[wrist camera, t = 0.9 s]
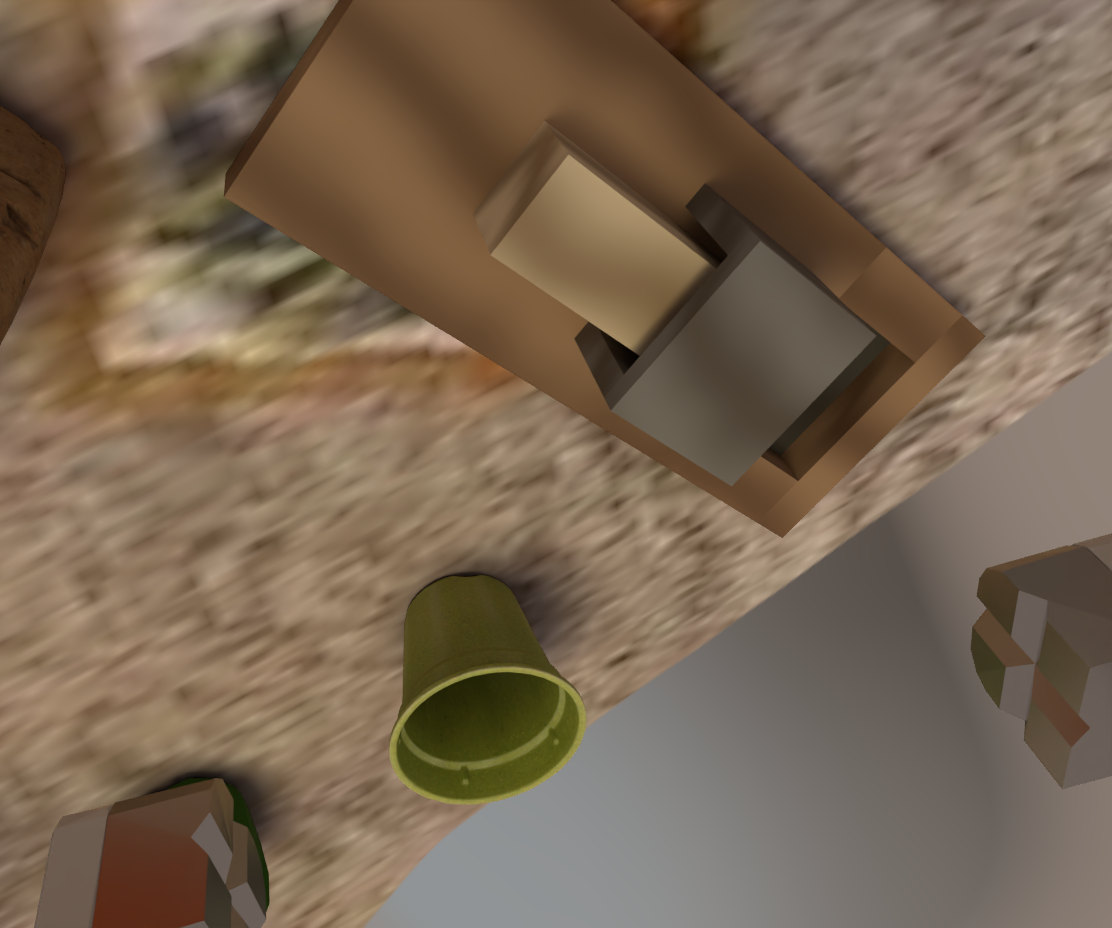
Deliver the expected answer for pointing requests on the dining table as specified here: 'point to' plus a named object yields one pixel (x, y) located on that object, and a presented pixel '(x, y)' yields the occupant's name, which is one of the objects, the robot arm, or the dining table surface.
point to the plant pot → (479, 698)
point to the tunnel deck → (650, 170)
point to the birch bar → (591, 240)
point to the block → (24, 208)
